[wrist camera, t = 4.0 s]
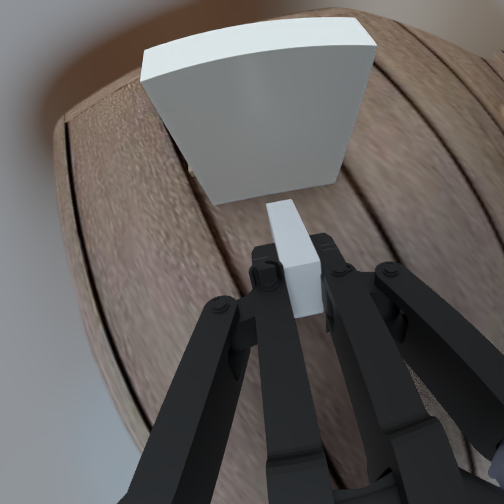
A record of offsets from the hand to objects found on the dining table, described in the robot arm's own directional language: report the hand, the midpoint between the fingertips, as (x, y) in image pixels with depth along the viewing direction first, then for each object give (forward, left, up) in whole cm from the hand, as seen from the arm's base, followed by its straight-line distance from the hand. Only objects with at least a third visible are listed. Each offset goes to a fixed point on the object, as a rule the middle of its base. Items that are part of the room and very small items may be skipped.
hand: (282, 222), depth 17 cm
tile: (-4, -4, -5) cm, 7 cm away
